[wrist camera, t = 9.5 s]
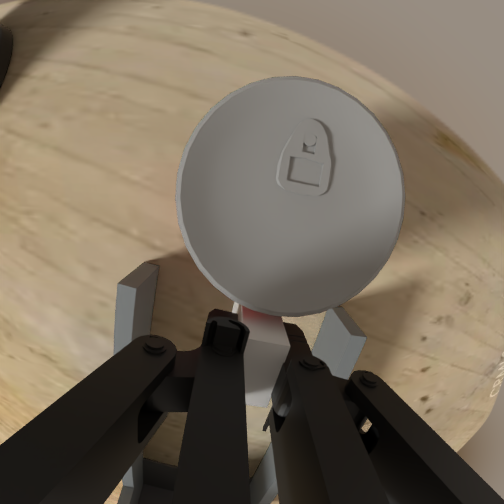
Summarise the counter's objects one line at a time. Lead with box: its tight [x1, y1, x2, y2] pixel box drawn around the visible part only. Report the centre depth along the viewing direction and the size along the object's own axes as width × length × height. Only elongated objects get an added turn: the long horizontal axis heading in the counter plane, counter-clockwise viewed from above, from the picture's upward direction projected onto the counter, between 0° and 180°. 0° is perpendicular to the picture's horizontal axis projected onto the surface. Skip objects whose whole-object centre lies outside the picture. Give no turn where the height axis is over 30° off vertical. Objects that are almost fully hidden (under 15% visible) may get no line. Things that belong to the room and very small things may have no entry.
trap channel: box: [114, 262, 367, 504], centre depth 17 cm, size 32×15×14 cm, turn 166°
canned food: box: [175, 76, 405, 317], centre depth 14 cm, size 8×8×11 cm
